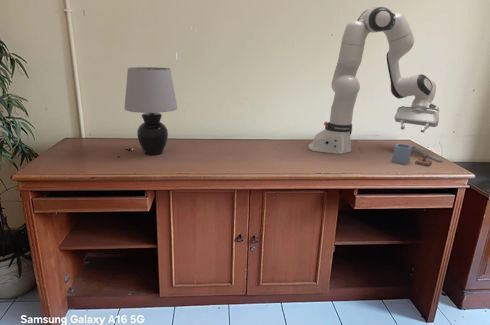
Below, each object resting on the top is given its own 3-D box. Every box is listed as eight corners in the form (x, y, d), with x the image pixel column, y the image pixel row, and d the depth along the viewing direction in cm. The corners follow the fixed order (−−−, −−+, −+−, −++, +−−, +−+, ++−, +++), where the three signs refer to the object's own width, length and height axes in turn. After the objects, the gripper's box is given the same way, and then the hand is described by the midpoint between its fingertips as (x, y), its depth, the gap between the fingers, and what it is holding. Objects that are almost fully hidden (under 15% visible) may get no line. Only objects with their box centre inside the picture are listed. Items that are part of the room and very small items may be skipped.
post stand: (428, 166, 165) (431, 154, 163) (415, 164, 169) (417, 151, 167) (431, 163, 170) (433, 151, 168) (417, 161, 173) (420, 149, 171)
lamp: (125, 161, 159) (118, 69, 147) (130, 147, 182) (124, 66, 169) (179, 159, 164) (176, 70, 152) (177, 145, 187) (175, 67, 174)
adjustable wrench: (443, 163, 173) (444, 160, 172) (430, 163, 172) (431, 160, 172) (416, 149, 196) (416, 145, 196) (405, 149, 196) (405, 145, 195)
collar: (406, 164, 167) (409, 148, 165) (392, 162, 171) (394, 145, 168) (409, 161, 172) (412, 145, 169) (395, 159, 176) (398, 143, 173)
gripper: (398, 102, 185) (390, 123, 180) (442, 106, 173) (434, 129, 169) (399, 109, 190) (391, 130, 185) (441, 114, 178) (434, 137, 174)
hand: (412, 130), depth 177 cm, fingers open, 8 cm apart
